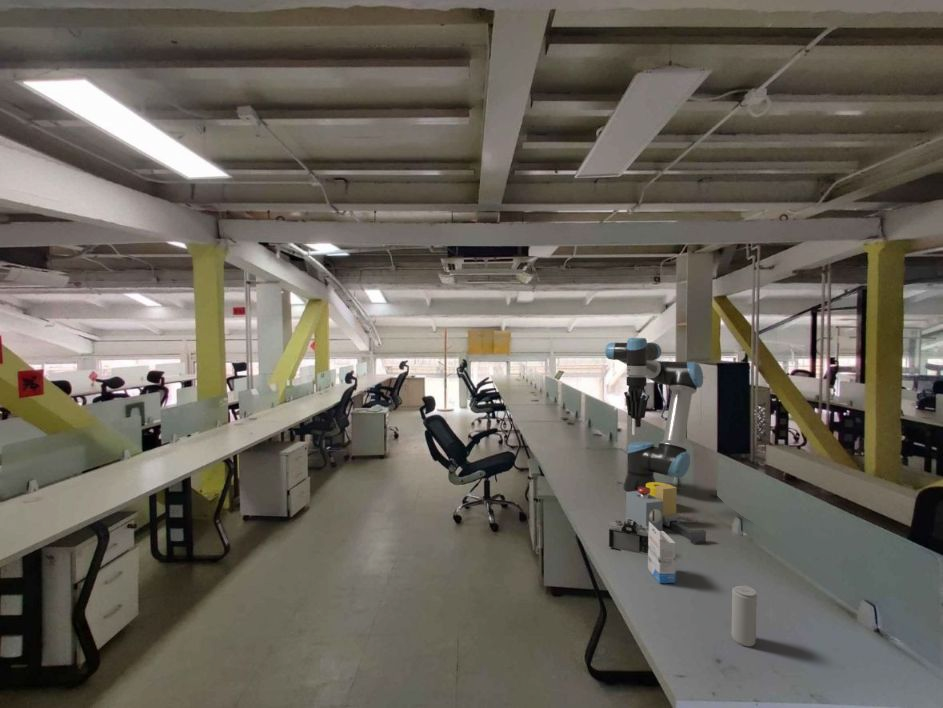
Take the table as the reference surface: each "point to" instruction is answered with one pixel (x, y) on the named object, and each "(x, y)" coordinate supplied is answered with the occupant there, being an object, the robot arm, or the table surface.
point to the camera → (629, 536)
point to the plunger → (643, 492)
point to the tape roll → (653, 487)
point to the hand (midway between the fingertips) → (636, 434)
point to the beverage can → (744, 615)
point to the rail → (689, 532)
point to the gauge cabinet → (644, 510)
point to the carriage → (668, 503)
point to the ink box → (661, 555)
